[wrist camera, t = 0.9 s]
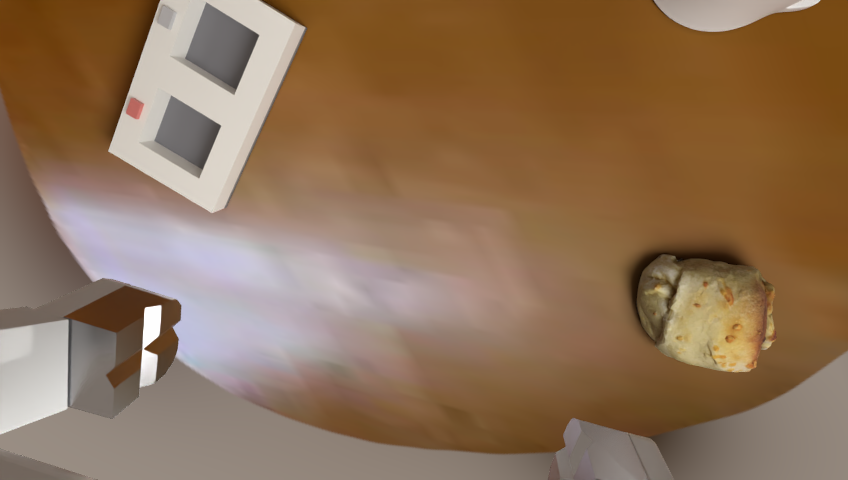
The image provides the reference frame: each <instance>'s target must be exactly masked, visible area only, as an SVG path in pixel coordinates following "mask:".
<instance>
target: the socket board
mask: <svg viewBox="0 0 848 480" xmlns="http://www.w3.org/2000/svg"><path fill="white" fill-rule="evenodd" d="M306 30H307V28H306V27H304V26H303V25H301V24H299V23H298V22H296V21H295V20H293V19H291V18H290V17H288V16H287V15H285V14H283V13H282V12H280V11H278V10H277V9H275V8H274V7H272V6H270V5H269V4H267V3H265V2H264V1H262V0H160V3H159V5H158V8H157V11H156V14H155V17H154V20H153V23H152V26H151V29H150V32H149V34H148V37H147V40H146V43H145V46H144V49H143V52H142V55H141V58H140V61H139V64H138V66H137V69H136V72H135V75H134V78H133V81H132V84H131V87H130V90H129V93H128V95H127V98H126V101H125V104H124V107H123V110H122V113H121V116H120V119H119V122H118V125H117V127H116V130H115V133H114V136H113V139H112V142H111V145H110V148H109V152H111V153H112V154H114V155H116V156H117V157H119V158H121V159H122V160H124V161H126V162H127V163H129V164H131V165H132V166H134V167H136V168H137V169H139V170H141V171H142V172H144V173H146V174H147V175H149V176H151V177H152V178H154V179H156V180H157V181H159V182H161V183H163V184H164V185H166V186H168V187H169V188H171V189H173V190H174V191H176V192H178V193H179V194H181V195H183V196H184V197H186V198H188V199H189V200H191V201H193V202H194V203H196V204H198V205H199V206H201V207H203V208H204V209H206V210H208V211H209V212H211V213H213V212H216V211H218V210H221V209H223V208H226V207H227V205H228V203H229V201H230V198H231V196H232V194H233V192H234V189H235V187H236V185H237V183H238V181H239V178H240V176H241V174H242V172H243V170H244V167H245V165H246V163H247V161H248V158H249V156H250V154H251V152H252V150H253V147H254V145H255V143H256V141H257V138H258V136H259V134H260V132H261V130H262V127H263V125H264V123H265V121H266V119H267V116H268V114H269V112H270V110H271V107H272V105H273V103H274V101H275V99H276V96H277V94H278V92H279V90H280V87H281V85H282V83H283V81H284V79H285V76H286V74H287V72H288V70H289V68H290V65H291V63H292V61H293V59H294V56H295V54H296V52H297V50H298V48H299V45H300V43H301V41H302V39H303V36H304V34H305V32H306Z"/></svg>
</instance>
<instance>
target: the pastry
mask: <svg viewBox="0 0 848 480" xmlns="http://www.w3.org/2000/svg"><path fill="white" fill-rule="evenodd" d="M774 297H775V290H774V286H773V285H772V284H770V283H768V282H766V281H765V279H764V278H763V277H762V275H761V273H760V272H759V270H758V269H756V268H754V267H753V266H745V265H731V264H727V263H725V262H721V261H718V262H715V261H711V260H707V259H687V260H682V259H681V260H676V257H675V256H672V255H667V254H662V255H660V256H659V257H658V258H657V259H655V260H654V261H653V262H651V263H650V264H649V265H648V266H647V267H646V268H645V269H644V271H643V272H642V276H641V278H640V282H639V286H638V293H637V300H636V302H637V304H636V305H637V307H636V308H637V310H638V314H639V316H640V319H641V324H642V327H643V328H644V329H645V331H646V332H647V333H648V335H649V336H650V337H651V338H652V339H653V340H654V341H655V347H657V348H658V349H659V350H660V351H661V352H662V353H663V354H665V355H667V356H668V357H672V358H674V359H676V360H678V361H681V362H685V363H687V364H689V365H697V366H701V367H705V368H711V369H714V370H720V371H728V372H748V371H750V370H751V369H752V368H756V365H757V359H758V357H759V353H760V350H761V349H767V348H769V347H770V345H771V343H772V342H774V341H775V339H776V338H777V337H776V331H775V329H774V326H773V319H772V313H771V312H772V310H773V307H772V302H773V299H774Z"/></svg>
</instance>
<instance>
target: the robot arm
mask: <svg viewBox="0 0 848 480" xmlns="http://www.w3.org/2000/svg"><path fill="white" fill-rule="evenodd" d="M819 1H820V0H654V2H655V3H656V4H657V6H658V7H659V8H660V9H661V10H662V11H663V12H664V13H665V14H666V15H667V16H668V17H669V18H671V19H672V20H674V21H675V22H677V23H679V24H681V25H683V26H685V27H688V28H691V29H695V30H700V31H708V32H718V31H727V30H732V29H736V28H740V27H743V26H745V25H748V24H750V23H753V22H755V21H757V20H759V19H761V18H763V17H765V16H767V15H770V14H773V13H776V12H790V11H799V10H803V9H806V8H809V7H811V6H813V5H815V4H817V3H818V2H819ZM180 320H181V304H180V303H179V302H178V300H176V299H173V298H170V297H167V296H164V295H161V294H158V293H155V292H151V291H148V290H145V289H142V288H139V287H136V286H131V285H130V284H127V283H123V282H120V281H116V280H113V279H105V278H102V279H100V280H98V281H95V282H93V283H91V284H89V285H87V286H84V287H82V288H80V289H78V290H75V291H73V292H71V293H69V294H66V295H64V296H62V297H60V298H58V299H55V300H53V301H51V302H49V303H47V304H44V305H42V306H40V307H37V308H35V309H33V308H30V307H20V308H12V309H3V310H0V434H2V433H5V432H7V431H10V430H13V429H15V428H18V427H21V426H23V425H26V424H29V423H31V422H34V421H37V420H39V419H42V418H44V417H47V416H50V415H53V414H55V413H58V412H61V411H63V410H66V409H67V408H68V407H71V408H75V409H78V410H82V411H85V412H89V413H93V414H96V415H100V416H103V417H107V418H110V419H113V418H114V417H115V416H117V415H118V414H119V413H120V412H121V411H123V410H124V409H125V408H126V407H127V406H129V405H130V404H131V403H132V402H133V401H134V400H136V399H137V398H138V397H139V389H140V387H143V386H147V385H150V384H153V383H156V382H157V381H158V380H159V379H160V378H161V377H163V376H164V375H165V374H166V372H167V371H168V369H169V368H170V366H171V365H172V363H173V361H174V359H175V356H176V353H177V349H178V340H179V339H178V337H177V335H176V333H175V331H174V329H173V326H175V325H176V324H177V323H178V322H179V321H180ZM563 435H564V440H565V444H566V447H565V448H563V449H561V450H560V451H558V452H556V453H555V456H554V459H553V461H552V464H551V467H550V472H549V477H548V480H674V479H673V477H672V475H671V473H670V471H669V469H668V467H667V465H666V463H665V461H664V459H663V457H662V455H661V453H660V451H659V449H658V447H657V445H656V443H655V442H654V441H652V440H651V439H650V438H646V437H642V436H638V435H634V434H630V433H627V432H622V431H618V430H614V429H611V428H607V427H603V426H600V425H596V424H592V423H589V422H585V421H581V420H578V419H574V418H572V420H571V421H570V422H569V424H568V425H567V428H566V430H565V432H564V434H563ZM0 480H96V479H93V478H90V477H87V476H84V475H81V474H77V473H75V472H71V471H68V470H65V469H62V468H59V467H56V466H53V465H50V464H46V463H43V462H40V461H37V460H34V459H31V458H27V457H25V456H22V455H18V454H15V453H12V452H9V451H6V450H3V449H0Z"/></svg>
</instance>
